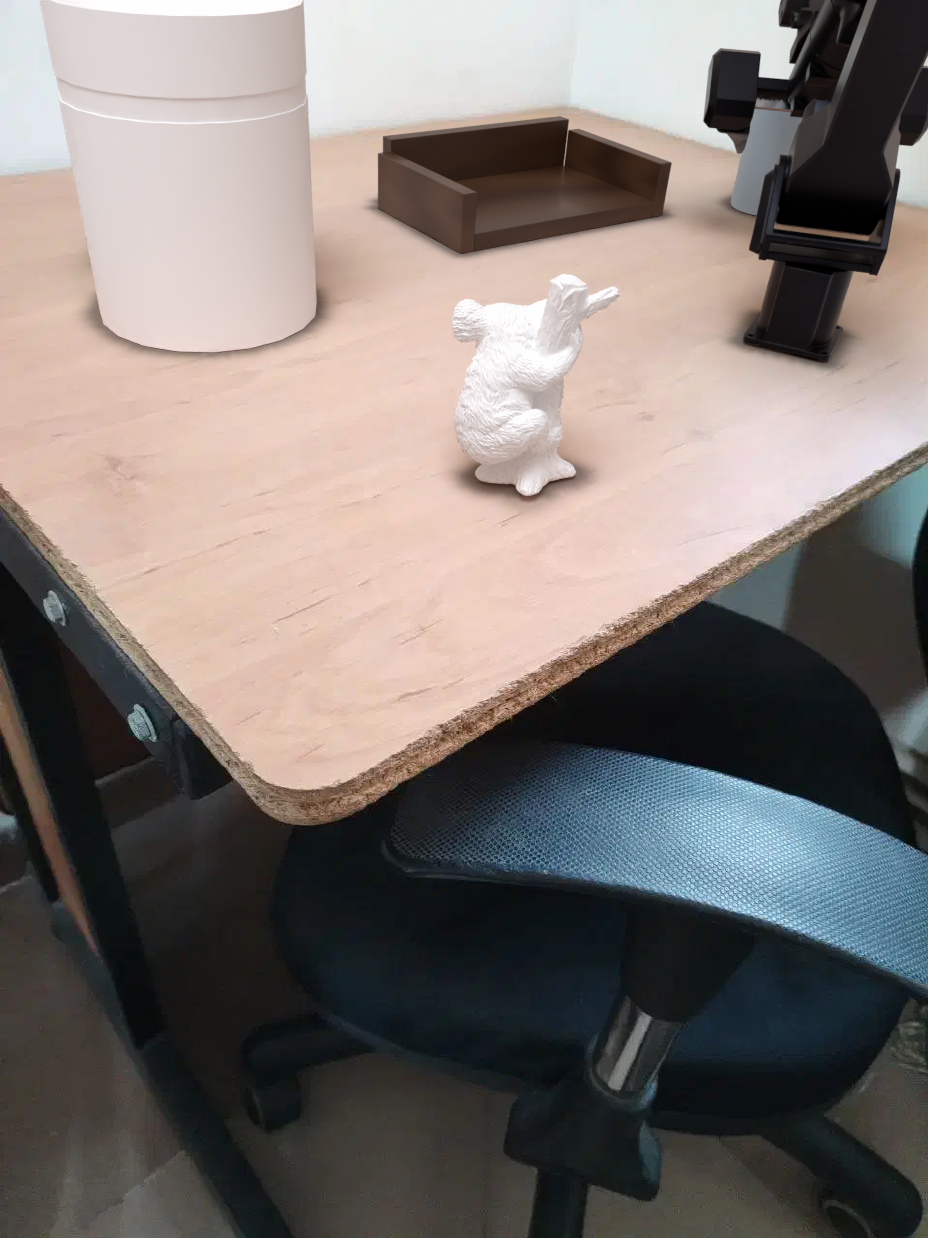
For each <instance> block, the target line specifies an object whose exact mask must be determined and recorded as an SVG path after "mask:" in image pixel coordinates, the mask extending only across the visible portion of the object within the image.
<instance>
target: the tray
mask: <svg viewBox="0 0 928 1238" xmlns="http://www.w3.org/2000/svg"><path fill="white" fill-rule="evenodd" d="M569 123H570V119H569V118H566V117H564V116H561V115H557V116H549V117H541V118H540V117H539V118H531V119H521V120H514V121H513V120H512V121H505V122H496V123H487V124H477V125H470V126H462V127H461V126H459V127H451V128H443V129H433V130H425V131H416V132H407V133H398V134H389V135H383V136H382V152H378V153H377V209H378V210H380V211H382V212H384V213H386V214H388V215H390V216H391V217H393V218H395V219H397V220H399V221H401V222H402V223H404V224H406V225H407V226H410V227H412V228H413V229H415V230H417V231H418V232H421V233H422V234H424V235H426V236H428V237H429V238H431V239H433V240H435V241H437V242H438V243H441V244H442V245H444V246H446V247H448V248H450V249H452V250H453V251H455V252H457V253H459V254H464V253H470V252H476V251H481V250H486V249H492V248H496V247H497V248H498V247H502V246H509V245H513V244H518V243H524V242H528V241H529V242H530V241H533V240H539V239H544V238H549V237H555V236H560V235H566V234H571V233H576V232H582V231H587V230H593V229H597V228H603V227H607V226H614V225H619V224H623V223H624V224H625V223H629V222H634V221H639V220H644V219H645V220H646V219H649V218H654V217H660V216H663V214H664V207H665V202H666V197H667V190H668V186H669V179H670V174H671V168H672V164H673V163H672V161H669V160H666V159H664V158H661V157H659V156H655V155H652V154H651V153H647V152H644V151H641V150H639V149H636V148H633V147H631V146H628V145H625V144H622V143H619V142H617V141H614V140H611V139H609V138H605V137H604V136H601V135H597V134H595V133H592V132H589V131H586V130H584V129H581V128H572V129H569Z"/></svg>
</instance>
